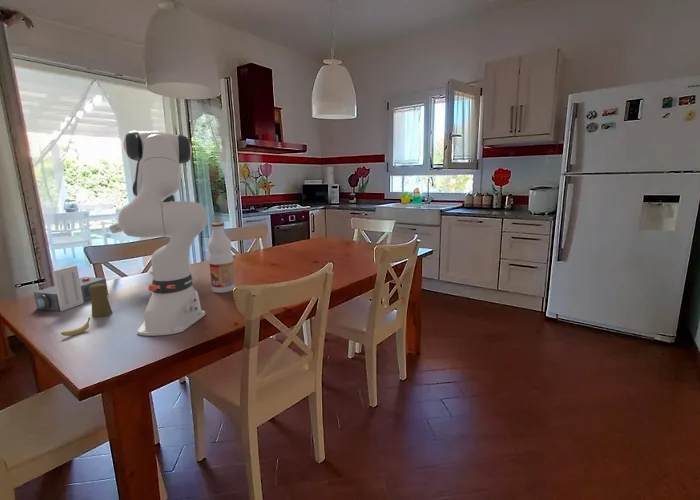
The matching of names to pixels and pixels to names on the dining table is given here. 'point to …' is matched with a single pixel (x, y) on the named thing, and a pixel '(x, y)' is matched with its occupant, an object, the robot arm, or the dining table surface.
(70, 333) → the banana
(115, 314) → the dining table surface
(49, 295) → the camera block
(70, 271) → the cover
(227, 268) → the fruit juice
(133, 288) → the dining table surface
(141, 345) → the dining table surface
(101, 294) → the cork
